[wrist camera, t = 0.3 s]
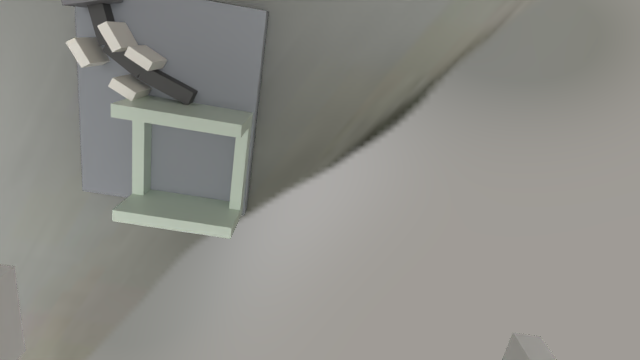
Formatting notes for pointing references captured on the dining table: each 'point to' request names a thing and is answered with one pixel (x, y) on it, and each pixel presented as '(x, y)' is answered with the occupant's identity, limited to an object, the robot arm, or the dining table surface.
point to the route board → (165, 88)
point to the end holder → (175, 207)
